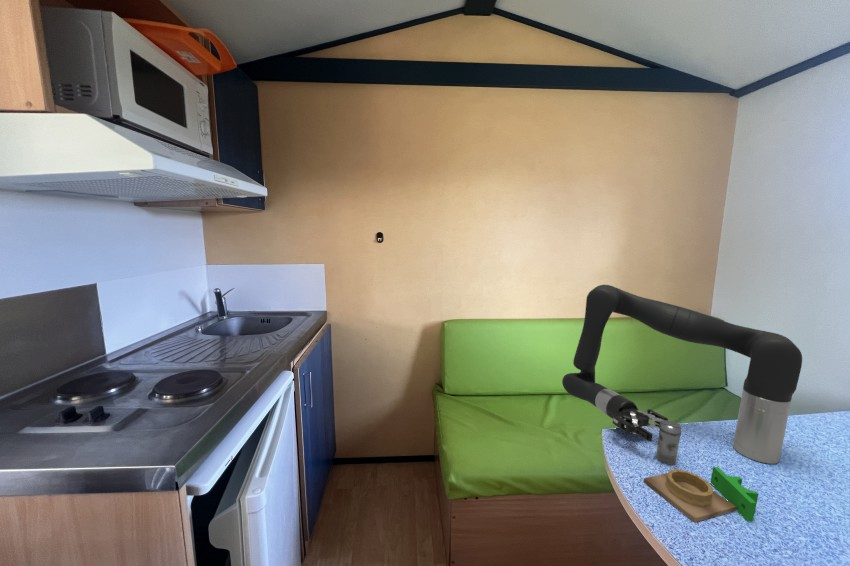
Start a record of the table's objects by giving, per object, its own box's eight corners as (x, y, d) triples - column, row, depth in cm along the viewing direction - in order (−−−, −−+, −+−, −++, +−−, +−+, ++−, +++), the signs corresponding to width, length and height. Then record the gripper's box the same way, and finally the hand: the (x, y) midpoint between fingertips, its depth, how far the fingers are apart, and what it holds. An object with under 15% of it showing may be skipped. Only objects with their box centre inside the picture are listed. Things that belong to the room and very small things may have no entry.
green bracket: (766, 524, 72) (770, 504, 71) (746, 522, 73) (750, 502, 72) (727, 485, 83) (730, 467, 82) (710, 483, 84) (713, 466, 83)
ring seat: (681, 473, 86) (683, 460, 86) (735, 510, 75) (738, 496, 75) (643, 482, 83) (645, 468, 83) (694, 522, 72) (696, 507, 71)
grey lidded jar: (664, 453, 94) (669, 419, 93) (680, 464, 90) (686, 428, 88) (651, 455, 93) (655, 421, 92) (667, 467, 89) (672, 431, 87)
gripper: (597, 397, 105) (644, 426, 89) (634, 391, 109) (686, 419, 93) (594, 420, 106) (640, 452, 91) (632, 414, 110) (682, 444, 94)
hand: (663, 435), depth 92 cm, fingers open, 8 cm apart
